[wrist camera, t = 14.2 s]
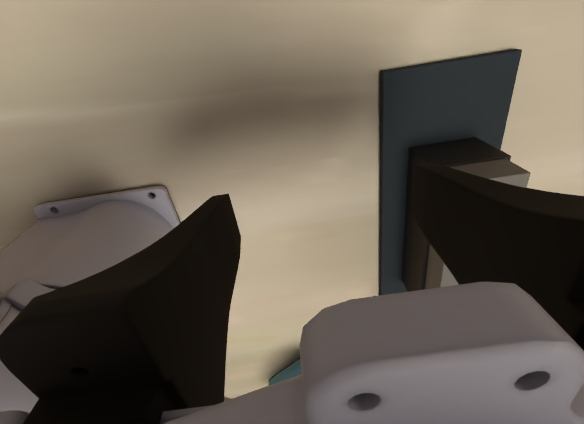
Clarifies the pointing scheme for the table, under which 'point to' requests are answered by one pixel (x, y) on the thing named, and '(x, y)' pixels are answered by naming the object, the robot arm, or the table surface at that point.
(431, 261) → the grey rectangular block
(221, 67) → the table surface
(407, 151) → the desk mat
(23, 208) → the table surface
